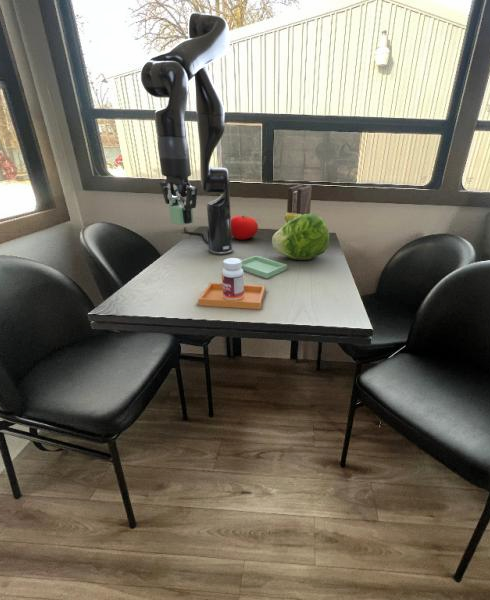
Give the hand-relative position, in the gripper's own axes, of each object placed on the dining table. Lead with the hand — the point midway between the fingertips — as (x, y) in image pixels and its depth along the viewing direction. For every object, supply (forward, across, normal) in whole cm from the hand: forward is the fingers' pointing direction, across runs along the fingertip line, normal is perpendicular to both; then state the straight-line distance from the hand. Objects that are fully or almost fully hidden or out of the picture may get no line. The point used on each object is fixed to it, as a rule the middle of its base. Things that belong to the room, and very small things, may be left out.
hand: (182, 221), depth 86 cm
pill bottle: (+20, -17, -3) cm, 27 cm away
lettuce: (+21, -10, -47) cm, 52 cm away
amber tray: (+21, -17, -3) cm, 27 cm away
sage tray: (+21, -7, -27) cm, 35 cm away
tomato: (+22, +26, -51) cm, 62 cm away
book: (+22, +7, -70) cm, 73 cm away
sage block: (0, 0, 0) cm, 0 cm away
